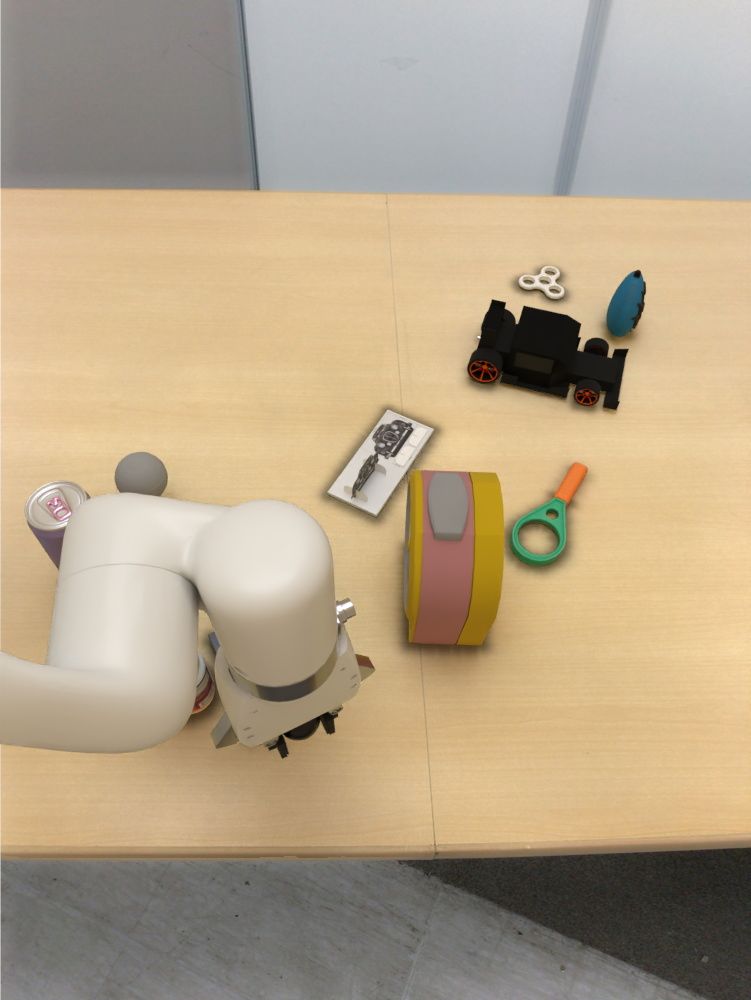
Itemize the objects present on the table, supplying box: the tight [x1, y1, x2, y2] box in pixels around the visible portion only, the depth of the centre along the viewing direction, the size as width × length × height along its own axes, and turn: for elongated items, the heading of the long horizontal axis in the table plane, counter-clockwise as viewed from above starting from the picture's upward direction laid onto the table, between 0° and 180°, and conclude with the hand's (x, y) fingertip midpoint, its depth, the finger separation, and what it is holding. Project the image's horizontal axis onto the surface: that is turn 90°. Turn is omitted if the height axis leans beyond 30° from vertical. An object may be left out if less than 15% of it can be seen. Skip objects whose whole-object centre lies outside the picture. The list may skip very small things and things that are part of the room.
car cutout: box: [326, 409, 435, 518], centre depth 89 cm, size 15×7×4 cm, turn 151°
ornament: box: [605, 269, 647, 338], centre depth 101 cm, size 8×5×10 cm, turn 160°
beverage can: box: [24, 479, 92, 571], centre depth 74 cm, size 6×6×15 cm
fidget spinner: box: [518, 265, 565, 300], centre depth 110 cm, size 7×6×1 cm
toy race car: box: [466, 298, 630, 411], centre depth 97 cm, size 10×20×7 cm, turn 72°
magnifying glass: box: [509, 461, 589, 567], centre depth 86 cm, size 15×6×2 cm, turn 148°
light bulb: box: [114, 451, 169, 497], centre depth 82 cm, size 6×6×10 cm
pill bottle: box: [191, 650, 216, 715], centre depth 70 cm, size 5×5×8 cm
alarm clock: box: [403, 469, 505, 646], centre depth 73 cm, size 15×8×18 cm, turn 178°
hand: (301, 729), depth 64 cm, fingers closed on switch lever, 3 cm apart
